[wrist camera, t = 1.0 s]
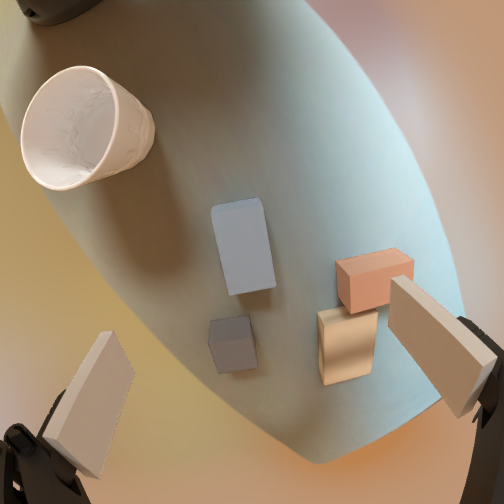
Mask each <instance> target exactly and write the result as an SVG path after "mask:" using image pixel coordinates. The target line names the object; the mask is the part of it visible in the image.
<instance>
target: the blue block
mask: <svg viewBox="0 0 504 504" xmlns="http://www.w3.org/2000/svg"><path fill="white" fill-rule="evenodd" d="M210 216H211V220H212V225H213V229H214V234H215V238H216V242H217V247H218V251H219V255H220V260H221V264H222V268H223V272H224V277H225V281H226V285H227V289H228V293H229V296H231V295H236V294H241V293H247V292H252V291H257V290H263V289H268V288H273V287H276V281H275V275H274V269H273V263H272V257H271V251H270V245H269V239H268V233H267V227H266V221H265V216H264V210H263V204H262V202H261V201H260V199H259V198H258V197H256V198H250V199H245V200H240V201H235V202H230V203H225V204H220V205H215V206H213V209H212V211H211V213H210Z"/></svg>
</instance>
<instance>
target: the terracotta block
mask: <svg viewBox="0 0 504 504" xmlns="http://www.w3.org/2000/svg"><path fill="white" fill-rule="evenodd" d="M413 269H414V260H413V259H411V258H410V257H408V256H407V255H405V254H404V253H402V252H401V251H399V250H398V249H396V248H391V249H386V250H382V251H378V252H373V253H369V254H364V255H360V256H355V257H351V258H346V259H341V260H337V261H336V275H337V292H338V297H339V298H340V300H341V301H342V302H343V304H344V305H345V307H346V308H347V310H348V311H349V313H350V314H353V313H357V312H361V311H364V310H368V309H372V308H375V307H378V306H382V305H385V304H389V303H390V286H391V278H393V277H396V276H400V275H405V276H407V277H408V278H409V279H410V280H412V281H413Z"/></svg>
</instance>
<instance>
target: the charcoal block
mask: <svg viewBox="0 0 504 504" xmlns="http://www.w3.org/2000/svg"><path fill="white" fill-rule="evenodd" d="M208 345H209V348H210V351H211V354H212V357H213V359H214V362H215V365H216V368H217V370H218V373H219V374H222V373H229V372H236V371H242V370H248V369H254V368H258V361H257V353H256V345H255V341H254V336H253V332H252V327H251V323H250V319H249V315H243V316H238V317H232V318H227V319H221V320H215V321H211V323H210V331H209V340H208Z"/></svg>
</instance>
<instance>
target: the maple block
mask: <svg viewBox="0 0 504 504" xmlns="http://www.w3.org/2000/svg"><path fill="white" fill-rule="evenodd" d="M317 319H318V349H319V373H320V376H321V378H322V381H323V384H324V386H325V385H329V384H333V383H337V382H341V381H345V380H349V379H352V378H356V377H359V376H363V375H366V374H369V373H371V369H372V362H373V355H374V347H375V339H376V330H377V319H378V312H377V311H376V309H375V308H372V309H368V310H364V311H361V312H357V313H353V314H350V313H349V311H348V310H347V308H346V307H345V306H342V307H338V308H333V309H329V310H324V311H319V312H317Z"/></svg>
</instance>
